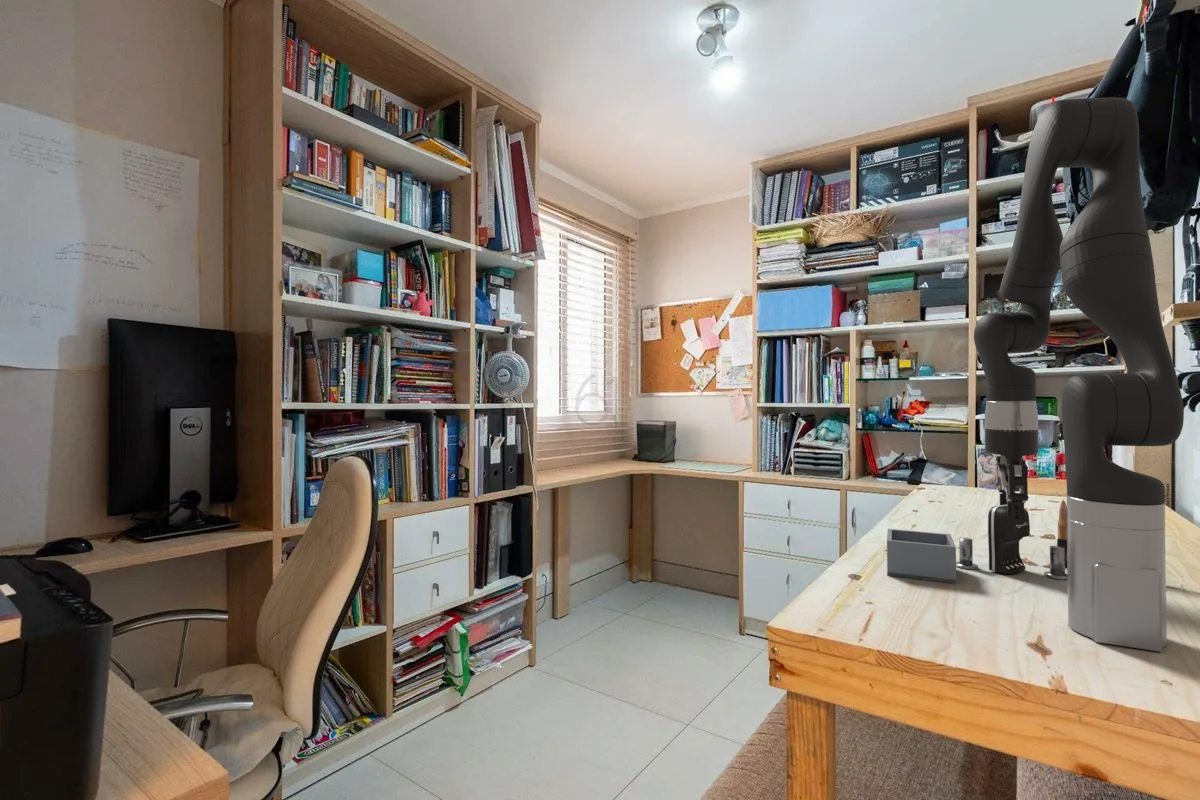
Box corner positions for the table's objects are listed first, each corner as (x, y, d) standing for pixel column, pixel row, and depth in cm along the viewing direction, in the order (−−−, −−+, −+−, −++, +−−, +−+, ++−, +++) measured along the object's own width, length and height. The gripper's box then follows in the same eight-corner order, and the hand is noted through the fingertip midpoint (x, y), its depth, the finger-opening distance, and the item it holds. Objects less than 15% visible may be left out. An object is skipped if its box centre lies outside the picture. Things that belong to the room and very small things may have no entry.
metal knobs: (1074, 581, 92) (1073, 551, 92) (955, 567, 100) (955, 539, 100) (1068, 575, 95) (1067, 546, 95) (953, 562, 103) (953, 535, 103)
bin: (956, 584, 91) (955, 547, 91) (887, 575, 96) (887, 540, 96) (950, 567, 100) (950, 534, 100) (887, 560, 104) (887, 528, 104)
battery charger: (1011, 577, 94) (1010, 510, 94) (987, 571, 97) (986, 506, 97) (1033, 571, 97) (1032, 506, 97) (1009, 566, 101) (1008, 502, 101)
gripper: (1047, 429, 89) (1047, 530, 90) (1029, 424, 102) (1030, 513, 102) (990, 429, 93) (991, 526, 93) (980, 424, 105) (980, 509, 106)
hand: (1011, 519), depth 98 cm, fingers open, 8 cm apart
